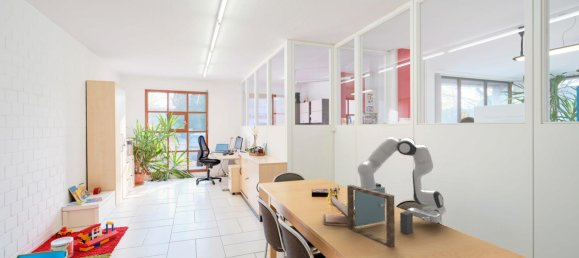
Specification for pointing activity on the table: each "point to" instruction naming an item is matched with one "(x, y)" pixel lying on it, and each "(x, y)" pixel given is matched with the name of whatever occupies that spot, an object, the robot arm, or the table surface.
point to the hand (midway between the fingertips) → (416, 217)
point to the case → (337, 218)
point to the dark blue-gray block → (406, 222)
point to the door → (369, 207)
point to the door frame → (389, 214)
